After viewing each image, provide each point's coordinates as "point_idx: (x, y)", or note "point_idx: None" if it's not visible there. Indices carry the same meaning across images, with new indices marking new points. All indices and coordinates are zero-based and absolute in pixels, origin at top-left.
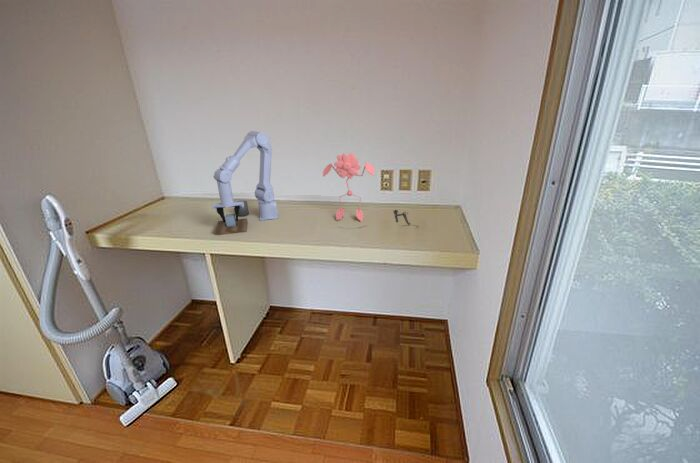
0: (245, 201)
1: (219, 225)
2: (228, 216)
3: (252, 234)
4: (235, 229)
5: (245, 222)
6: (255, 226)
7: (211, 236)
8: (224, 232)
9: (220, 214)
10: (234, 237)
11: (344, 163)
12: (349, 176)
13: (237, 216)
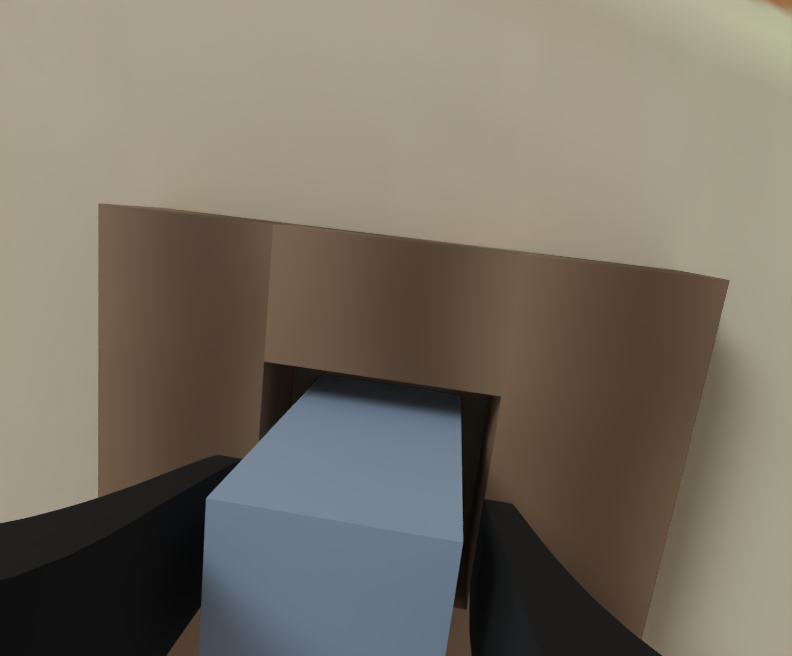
0: None
1: (604, 517)
2: (361, 567)
3: (59, 43)
4: (306, 228)
5: (112, 448)
6: (30, 379)
7: (761, 244)
8: (521, 252)
9: (625, 651)
10: (356, 21)
11: None
12: None
13: (122, 492)
